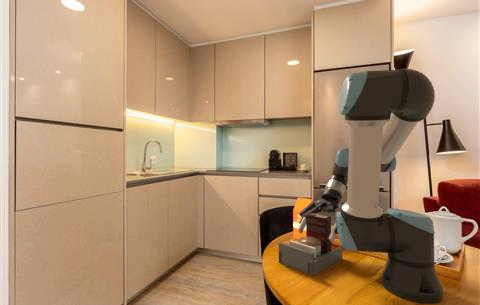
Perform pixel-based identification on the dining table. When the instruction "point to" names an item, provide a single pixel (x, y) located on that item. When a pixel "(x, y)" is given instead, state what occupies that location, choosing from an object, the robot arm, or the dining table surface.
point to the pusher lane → (307, 259)
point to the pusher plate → (304, 247)
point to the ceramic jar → (312, 243)
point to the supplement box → (319, 230)
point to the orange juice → (297, 209)
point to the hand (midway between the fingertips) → (314, 236)
